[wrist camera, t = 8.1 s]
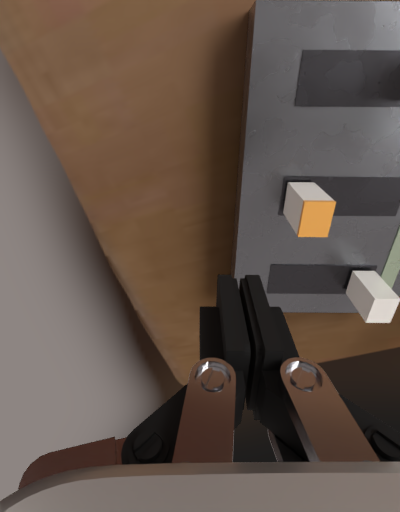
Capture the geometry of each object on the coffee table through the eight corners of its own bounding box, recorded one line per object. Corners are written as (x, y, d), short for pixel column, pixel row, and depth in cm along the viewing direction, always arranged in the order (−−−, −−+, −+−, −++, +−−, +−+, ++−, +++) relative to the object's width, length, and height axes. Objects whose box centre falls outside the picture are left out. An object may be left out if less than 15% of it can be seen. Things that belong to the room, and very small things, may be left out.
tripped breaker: (314, 182, 23) (336, 202, 19) (308, 213, 24) (327, 237, 20) (287, 182, 23) (304, 201, 19) (283, 212, 24) (298, 237, 20)
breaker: (374, 270, 27) (400, 298, 23) (366, 293, 28) (390, 322, 25) (352, 270, 27) (375, 298, 23) (345, 293, 28) (365, 322, 25)
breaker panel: (484, 12, 20) (528, 1, 18) (376, 294, 32) (392, 313, 30) (248, 10, 20) (256, -1, 18) (229, 293, 32) (231, 312, 30)
